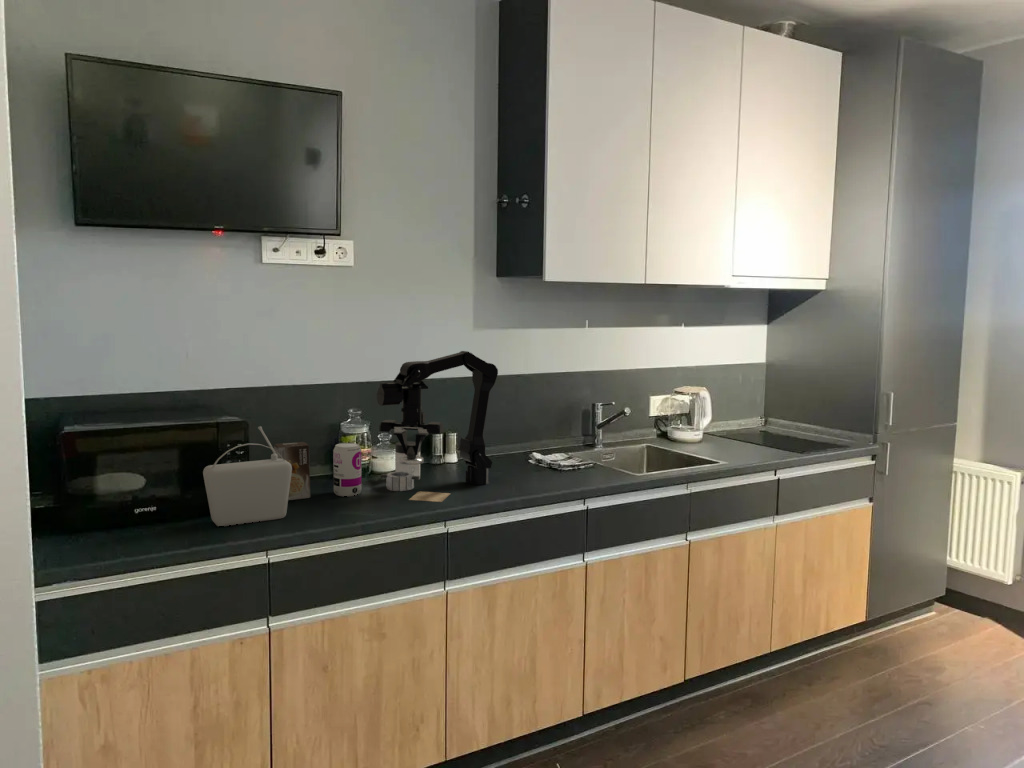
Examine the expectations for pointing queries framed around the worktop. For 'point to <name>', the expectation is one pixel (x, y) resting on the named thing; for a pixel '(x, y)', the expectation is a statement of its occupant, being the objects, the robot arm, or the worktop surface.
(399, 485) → the pot
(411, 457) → the lid
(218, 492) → the radio
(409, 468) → the jar
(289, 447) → the coffee box
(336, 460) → the supplement can
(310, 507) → the worktop surface
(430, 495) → the plate
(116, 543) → the worktop surface
